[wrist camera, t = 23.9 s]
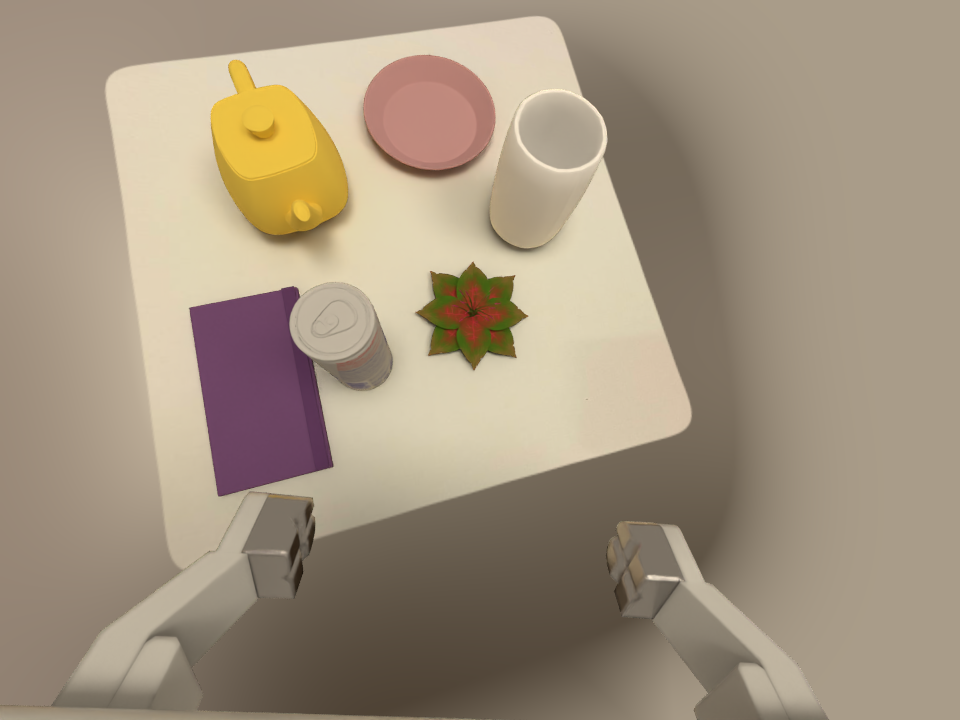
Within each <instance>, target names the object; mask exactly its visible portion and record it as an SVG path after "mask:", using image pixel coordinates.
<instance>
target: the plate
mask: <svg viewBox="0 0 960 720" xmlns="http://www.w3.org/2000/svg"><path fill="white" fill-rule="evenodd" d="M364 118H365V122H366V125H367V128H368V130H369V132H370V134H371V136H372V137H373V139H374V140H375V142H376V143H377V144H378V145H379V146H380V148H381V149H383V150H384V151H385V152H386V153H387V154H388V155H390V156H391V157H393V158H394V159H396V160H398V161H399V162H401V163H404V164H406V165H409V166H412V167H415V168H419V169H426V170H444V169H450V168H454V167H457V166H460V165H462V164H465V163H467V162H468V161H470V160H472V159H473V158H475V157H476V156H477V155H478V154H479V153H480V152H481V151H482V150H483V149H484V148H485V147H486V145H487V144H488V142H489V140H490V138H491V136H492V134H493V131H494V126H495V108H494V103H493V100H492V98H491V95H490V93H489V91H488V89H487V88H486V86H485V85H484V84H483V82H482V81H481V80H480V79H479V78H478V77H477V76H476V75H475V74H474V73H473V72H472V71H470V70H469V69H468V68H466V67H464V66H463V65H461V64H459V63H457V62H455V61H452V60H450V59H447V58H443V57H439V56H432V55H417V56H410V57H406V58H402V59H399V60H397V61H395V62H393V63H391V64H389V65H387V66H386V67H385V68H383V69H382V70H381V71H380V72H379V73H378V74H377V75H376V76H375V77H374V78H373V80H372V81H371V83H370V85H369V86H368V89H367V91H366V94H365V98H364Z"/></svg>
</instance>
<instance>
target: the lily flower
mask: <svg viewBox="0 0 960 720" xmlns="http://www.w3.org/2000/svg"><path fill="white" fill-rule="evenodd" d="M430 272H431V275H432V281H433V282H434V283H433V289H434V293H435V296H436V299H434V300H433V301H431V302H430V303H429V304H427V305H426V306H425V307H424V308H423V310H419V311H418V312H415V313H417V314H420V315H421V316H423V317H424V318H427V320H428V321H430V322H432V323H433V324H435V325H437V326H436V327H435V329H434V332H433V335H432V341H431V349H432V350H430V352H429V354H428V356H429V355H432V354H439V353H441V352H442V353H447V352H452V351H456V350H458V349H461V350H462V352H463V354H464V355H465V357H466V358H467V360H468V361H469V362H470V363H472V367H473V370H475V368H476V366H477V365H478V363H479V362H480V359H481V358H483V356H484V355H485V354H486V352H487V350H488V351H491V352H494V353H497V354H502V355H511V356H512V357H515V358H517V357H516V355H515V348H514V346H513V344H514V341H513V336H512V333H511V331H510V329H509V327H511V326H513V325H515V324H516V323H518V322H519V321H521V319H522V318H526V317H528V316H527V315H526V314H524V313H523V312H522V311H521V310H520V309H518V307H517V306H516V305H515V304H514V303H512V302H511V301H510V299H511V296H512V291H513V280H514V277H515V275H514V276H507V277H504V278H503V277H494V278H491V279H487V277H486V276H485V274H484V273H483V272H482V271H481V270H480V269H479V268H477V267H475V264H474V262H472V264H471V265H470V266H469V267H468V268H467V270H465V271H464V272H463V273H462V275H461V276H460V278H457V277H455V276H453V275H449V274H442V273H439V274H436V273H435V272H432V271H430Z"/></svg>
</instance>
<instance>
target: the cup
mask: <svg viewBox="0 0 960 720" xmlns="http://www.w3.org/2000/svg"><path fill="white" fill-rule="evenodd" d="M606 144H607V129H606V126H605V123H604V120H603V118H602V116H601V115H600V113H599V112H598V111H597V109H596V108H595V107H594V106H593V105H592V104H591V103H590V102H588V101H587V100H586V99H584V98H583V97H581V96H579V95H578V94H576V93H573V92H570V91H567V90H563V89H550V90H543V91H539V92H537V93H534V94H532V95H530V96H529V97H527V98H526V99H525V100H523V101H522V102H521V103H520V105H519V106H518V108H517V110H516V112H515V114H514V117H513V119H512V122H511V124H510V127H509V129H508V132H507V135H506V138H505V142H504V145H503V148H502V151H501V155H500V158H499V162H498V166H497V171H496V175H495V180H494V184H493V190H492V196H491V202H490V219H491V223H492V226H493V228H494V229H495V231H496V232H497V234H498V235H499V236H500V237H501V238H502V239H504V240H505V241H506V242H508V243H510V244H512V245H514V246H517V247H520V248H534V247H539V246H542V245H543V244H545V243H547V242H549V241H550V240H551V239H552V238H553V237H554V236H555V235H556V234H557V233H558V232H559V230H560V229H561V228H562V226H563V225H564V224H565V222H566V221H567V220H568V218H569V217H570V215H571V214H572V212H573V211H574V209H575V208H576V206H577V205H578V203H579V201H580V200H581V198H582V197H583V195H584V193H585V191H586V189H587V187H588V185H589V184H590V182H591V180H592V178H593V176H594V174H595V172H596V170H597V168H598V166H599V163H600V161H601V159H602V157H603V155H604V152H605V149H606Z"/></svg>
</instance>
